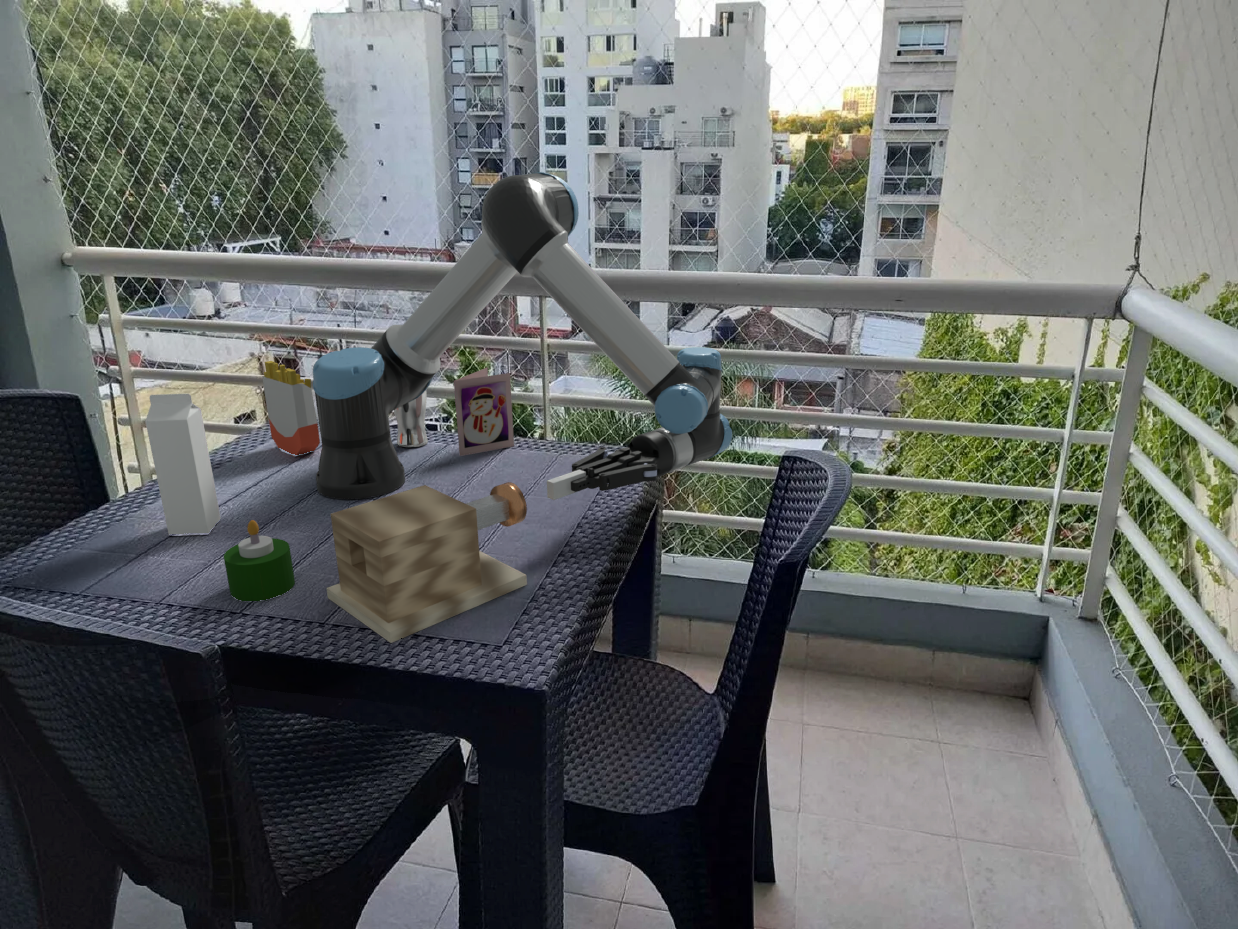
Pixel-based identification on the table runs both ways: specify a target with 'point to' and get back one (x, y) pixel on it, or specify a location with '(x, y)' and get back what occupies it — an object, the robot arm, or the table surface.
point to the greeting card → (483, 412)
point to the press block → (413, 562)
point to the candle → (259, 567)
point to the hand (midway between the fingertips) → (550, 490)
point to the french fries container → (290, 409)
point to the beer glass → (412, 423)
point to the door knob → (501, 506)
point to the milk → (182, 464)
